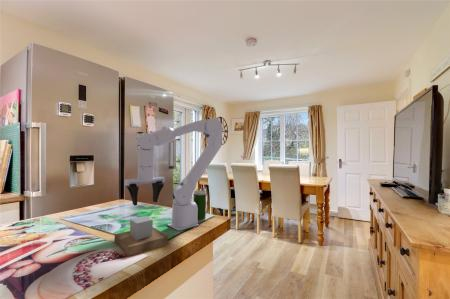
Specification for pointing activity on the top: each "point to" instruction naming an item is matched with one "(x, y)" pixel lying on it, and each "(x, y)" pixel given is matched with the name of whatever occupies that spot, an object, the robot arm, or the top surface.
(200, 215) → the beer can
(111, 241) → the top surface
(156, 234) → the walnut slab
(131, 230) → the grey cube
